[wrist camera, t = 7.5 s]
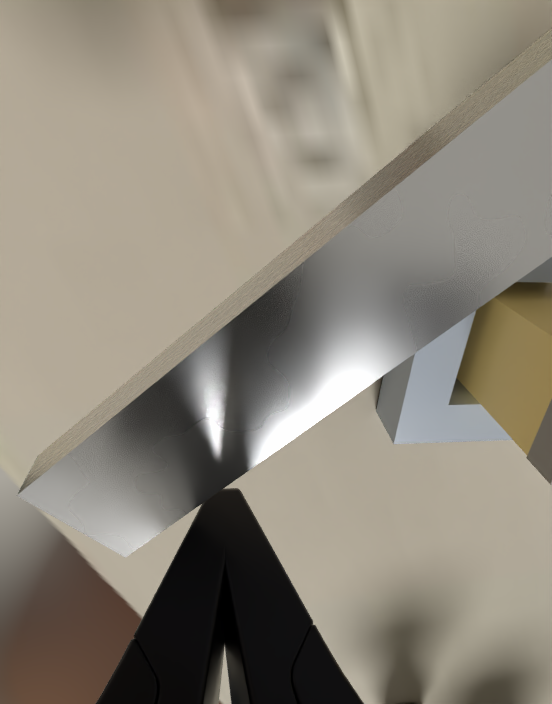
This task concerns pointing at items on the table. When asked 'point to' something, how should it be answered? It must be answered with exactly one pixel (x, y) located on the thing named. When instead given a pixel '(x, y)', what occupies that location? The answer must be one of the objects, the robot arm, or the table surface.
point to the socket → (440, 390)
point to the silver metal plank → (319, 317)
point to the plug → (515, 367)
